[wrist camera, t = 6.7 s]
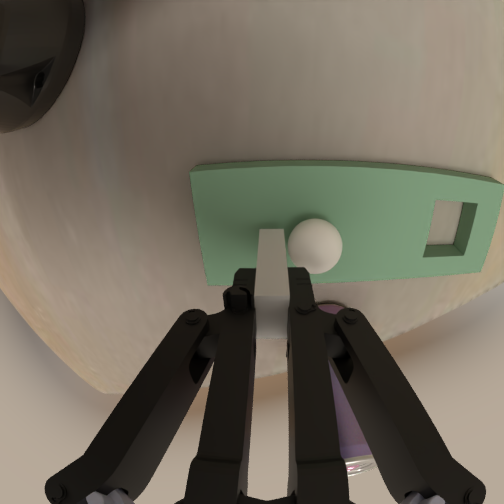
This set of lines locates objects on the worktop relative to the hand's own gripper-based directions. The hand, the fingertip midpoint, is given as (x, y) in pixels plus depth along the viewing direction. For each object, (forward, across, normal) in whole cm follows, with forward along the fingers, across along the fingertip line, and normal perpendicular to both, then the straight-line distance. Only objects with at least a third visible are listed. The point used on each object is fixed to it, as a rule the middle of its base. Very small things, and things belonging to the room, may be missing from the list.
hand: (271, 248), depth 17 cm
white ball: (0, +3, 0) cm, 3 cm away
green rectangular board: (+4, +8, +1) cm, 9 cm away
